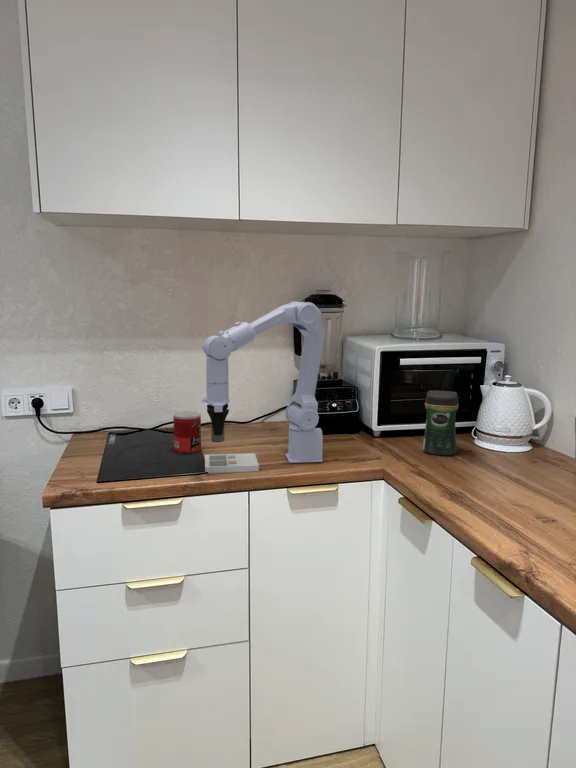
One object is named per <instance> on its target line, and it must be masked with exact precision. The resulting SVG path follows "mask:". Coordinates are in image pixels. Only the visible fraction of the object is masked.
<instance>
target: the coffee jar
mask: <svg viewBox="0 0 576 768" xmlns="http://www.w3.org/2000/svg"><path fill="white" fill-rule="evenodd" d="M458 396H459V395H458V393H457V391H448V390H429V391H427V393H426V396H425V402H424V407H425V410H426V411H425V412H426V420H425V428H424V436H423V444H422V451H423V452H425V453H426V454H431V455H436V454H437V456H452V455H454V454H456V451H457V434H456V433H457V432H456V430H457V429H456V413H457V411H458V409H459V397H458Z"/></svg>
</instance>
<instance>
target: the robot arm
mask: <svg viewBox="0 0 576 768" xmlns="http://www.w3.org/2000/svg"><path fill="white" fill-rule="evenodd" d="M282 323H283V324H290V325H292V326H294V327H295V328H296V329H298V331H299V332H300V334H301V335H302V336H303V337H304V339H303V345H302V352H301V359H300V363H299V368H298V369H299V370H298V375H297V383H296V387H295V393H294V394H292V396H291V398H290V401H289V404H288V406H287V407H286V409H285V418H286V420H287V421H288V422H289V423H288V452H285V454H284V455H285V458H287V461H288V463H289V464H294V463H295V464H296V463H297V464H298V463H299V464H300V463H323V446H324V445H323V442H324V440H323V439H324V437H323V430H322V428H321V427H317V425H318V423H319V419H320V415H319V413H318V408H319V404H318V402H317V399H316V396H315V395H316V388H317V384H318V377H319V372H320V365H321V359H322V355H323V349H324V341H325V338H326V331H325V328H324V324H323V321H322V311H321V310H320V309H319V308H318V306H316V304H314V303H313V302H310V301H308V302H307V301H306V302H303V301H296V300H293V301H291V302H289V303H287V304H286V303H285V304H283V305H281V306H279V307H277V308H275V309H273V310H272V311H269V312H268V313H267V314H265V315H263V316H261V317H259V318H258V319H256V320H254V321H252V322H250V323H248V322H245V321H241V322H240V321H236V322H235V323H234V325H233V326H232V327H229V328H228V329H227V330H226V329H225V330H220V331H218V335H211V336H209V337H207V338H206V340H205V341H204V344H203V346H202V350H203V352H204V354H205V355H206V365H205V371H206V372H205V373H206V374H205V378H206V383H205V384H206V385H205V386H206V387H205V388H206V398H205V397H204V398H202V399H201V400H202V401H201V402H202V403H206V404H207V405H206V412H207V414H208V416H209V418H210V421H211V422H212V428H213V433H214V435H222V434H223V430H224V431H225V423H226V420H227V419H226V418H227V416H228V414H229V412H230V409H229V403H230V398H229V383H230V382H229V358H230V356H231V355H232V353H233V352H235V351H237V350H239V349H242V347H245V346H247V345H249V344H251V343H253V342H254V341H255V339H256V335H258V334H260V333H262V332H264V331H267V330H269V329H271V328H273V327H276V326H278V325H280V324H282Z"/></svg>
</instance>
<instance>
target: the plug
mask: <svg viewBox="0 0 576 768" xmlns="http://www.w3.org/2000/svg"><path fill="white" fill-rule="evenodd" d="M210 427H211V428H210V429H211V430H210V431H211V433H210V434H211V435H210V436H211V437H210V438H211V442H213V443H224V442H225V429H224V430H223V434H222V435H214V433H213V428H212V422H211V426H210Z"/></svg>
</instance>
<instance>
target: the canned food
mask: <svg viewBox="0 0 576 768" xmlns="http://www.w3.org/2000/svg"><path fill="white" fill-rule="evenodd" d="M201 418H202V417H201V413H200V412H197V411H179V412H178V411H177V412H175V413H174V414H173V448H174V451H175V452H176V451H178V452H182V453H191V452H197V451H199V452H200V451H201V449H202V422H201V421H202V419H201ZM182 453H181V454H182ZM197 453H198V452H197Z"/></svg>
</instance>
